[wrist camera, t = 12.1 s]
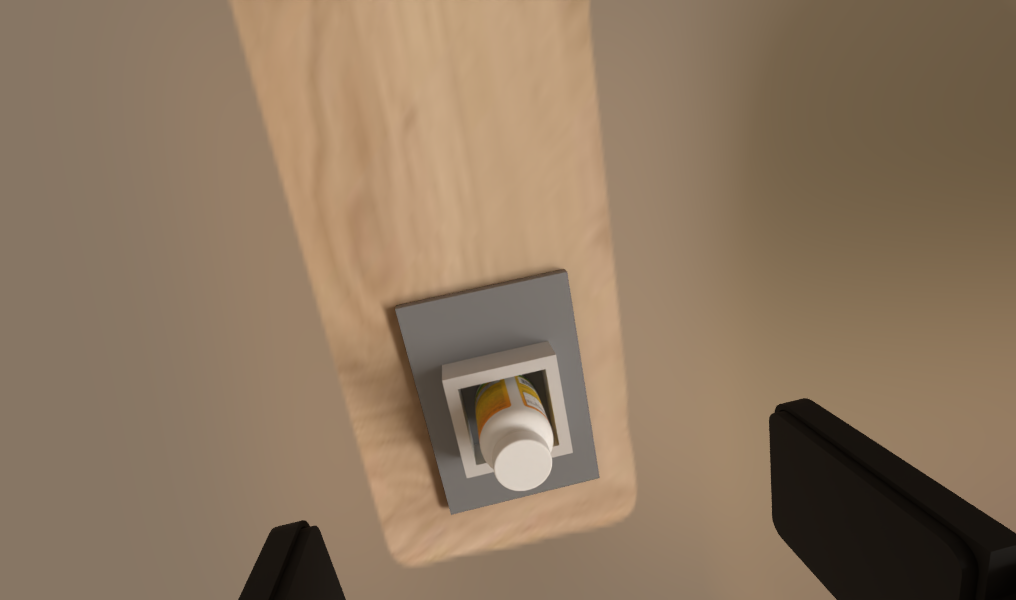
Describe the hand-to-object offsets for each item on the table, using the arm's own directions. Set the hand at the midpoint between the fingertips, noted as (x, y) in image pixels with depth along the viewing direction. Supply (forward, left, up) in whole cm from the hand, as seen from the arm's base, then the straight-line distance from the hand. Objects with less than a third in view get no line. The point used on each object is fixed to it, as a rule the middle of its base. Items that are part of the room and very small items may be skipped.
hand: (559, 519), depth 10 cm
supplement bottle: (+13, 0, -30) cm, 32 cm away
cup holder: (+13, 0, -30) cm, 33 cm away
